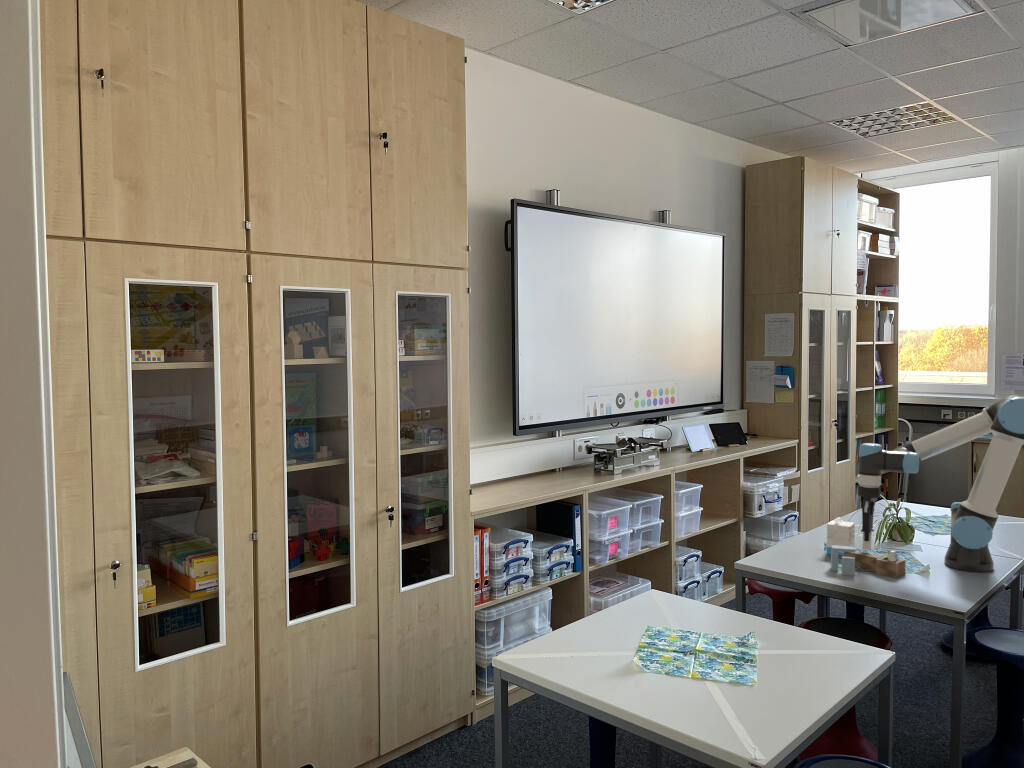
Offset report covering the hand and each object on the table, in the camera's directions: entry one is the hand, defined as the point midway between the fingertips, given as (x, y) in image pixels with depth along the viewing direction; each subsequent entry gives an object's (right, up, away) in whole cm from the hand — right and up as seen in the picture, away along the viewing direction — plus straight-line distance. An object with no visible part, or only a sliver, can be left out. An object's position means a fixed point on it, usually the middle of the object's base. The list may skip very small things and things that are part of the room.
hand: (866, 549), depth 272 cm
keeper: (-13, -6, -10) cm, 17 cm away
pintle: (+3, -6, -13) cm, 14 cm away
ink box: (-3, -5, +14) cm, 15 cm away
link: (-1, -6, -8) cm, 9 cm away
